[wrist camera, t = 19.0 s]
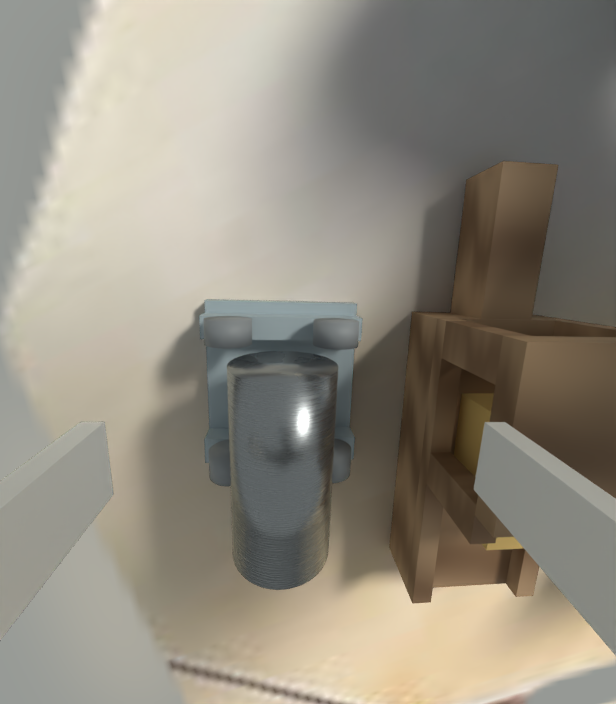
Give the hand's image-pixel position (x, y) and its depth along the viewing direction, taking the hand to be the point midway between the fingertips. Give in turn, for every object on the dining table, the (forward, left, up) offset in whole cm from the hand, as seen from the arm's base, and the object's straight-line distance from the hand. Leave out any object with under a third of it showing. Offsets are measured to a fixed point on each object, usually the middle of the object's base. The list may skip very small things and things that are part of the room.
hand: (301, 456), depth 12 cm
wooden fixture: (+1, +12, -11) cm, 16 cm away
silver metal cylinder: (+3, -1, -7) cm, 7 cm away
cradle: (+1, -1, -11) cm, 11 cm away
